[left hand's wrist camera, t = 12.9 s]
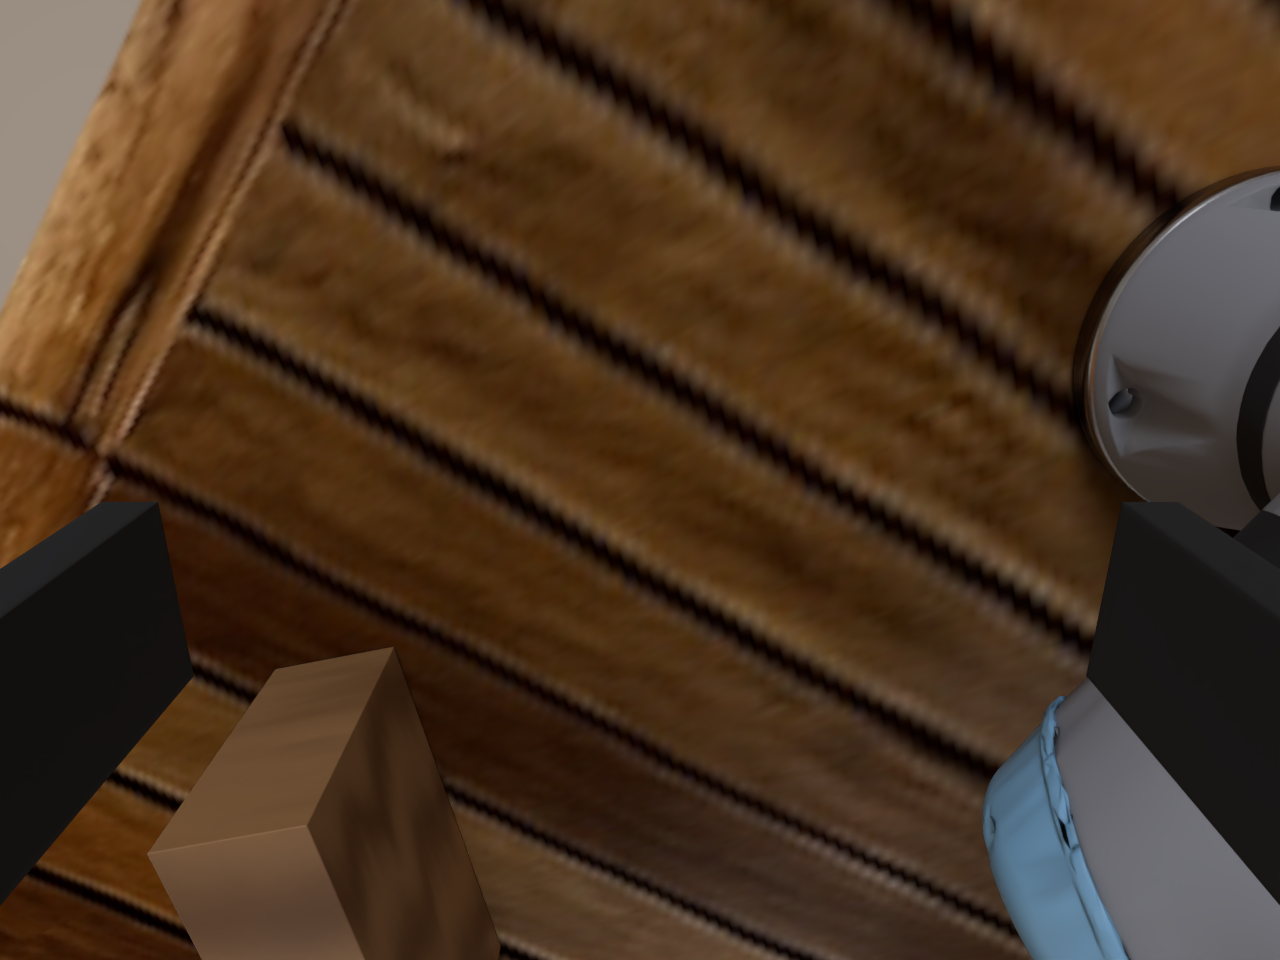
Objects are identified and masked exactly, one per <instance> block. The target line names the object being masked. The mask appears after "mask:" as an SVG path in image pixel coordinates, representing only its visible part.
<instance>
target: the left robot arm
mask: <svg viewBox="0 0 1280 960" xmlns="http://www.w3.org/2000/svg"><path fill="white" fill-rule="evenodd" d="M1074 396H1075V403H1076V409H1077V413H1078V417H1079V421H1080V424H1081V427H1082V430H1083V432H1084V435H1085V437H1086V439H1087V441H1088V443H1089V445H1090V447H1091V449H1092V451H1093V452H1094V454H1095V455H1096V456H1097V458H1098V459H1099V461H1100V462H1101V464H1102V465H1103V466H1104V467H1105V468H1106V469H1107V470H1108V471H1109V472H1110V474H1111V475H1113V476H1114V477H1115V478H1116V479H1117V480H1118V481H1119V482H1121V483H1122V484H1123V485H1124V486H1126V487H1127V488H1129V489H1130V490H1132V491H1133V492H1134V493H1136V494H1137V495H1139V496H1140V497H1142V498H1143V499H1145V500H1146V501H1147V502H1122V505H1121V509H1120V514H1119V519H1118V524H1117V529H1116V534H1115V539H1114V544H1113V548H1112V553H1111V558H1110V563H1109V568H1108V573H1107V578H1106V583H1105V587H1104V592H1103V597H1102V602H1101V607H1100V612H1099V617H1098V621H1097V626H1096V631H1095V636H1094V641H1093V646H1092V651H1091V656H1090V660H1089V665H1088V670H1087V675H1086V676H1087V677H1088V678H1087V679H1086V680H1085V681H1083V682H1082V683H1081V684H1080V685H1079V686H1078V687H1077V688H1076V689H1075V690H1074V691H1073V692H1072V693H1071V694H1070V695H1069V696H1065V697H1063V696H1059V697H1058V698H1057V699H1055V700H1054V701H1053V702H1052V703H1051V704H1050V705H1049V706H1048V707H1047V709H1046V711H1045V712H1044V715H1043V720H1042V723H1041V724H1040V725H1039V726H1038V727H1037V728H1036V729H1035V730H1034V731H1033V732H1032V734H1031V735H1030V736H1029V737H1028V738H1027V739H1026V740H1025V741H1024V742H1023V743H1022V745H1021V746H1020V747H1019V748H1018V749H1017V750H1016V751H1015V752H1014V753H1013V754H1012V755H1011V756H1010V757H1009V758H1008V760H1007V761H1006V762H1005V763H1004V764H1003V765H1002V766H1001V767H1000V768H999V769H998V770H997V772H996V773H995V775H994V776H993V778H992V779H991V781H990V783H989V785H988V788H987V791H986V794H985V798H984V803H983V810H982V823H983V836H984V841H985V844H986V847H987V850H988V854H989V861H990V868H991V871H992V874H993V877H994V879H995V882H996V885H997V888H998V890H999V893H1000V895H1001V898H1002V900H1003V903H1004V905H1005V907H1006V909H1007V912H1008V914H1009V916H1010V918H1011V920H1012V922H1013V924H1014V926H1015V928H1016V930H1017V932H1018V934H1019V936H1020V938H1021V940H1022V941H1023V943H1024V945H1025V947H1026V949H1027V951H1028V953H1029V954H1030V956H1031V958H1032V960H1280V166H1275V167H1266V168H1261V169H1257V170H1252V171H1247V172H1244V173H1241V174H1238V175H1234V176H1231V177H1228V178H1226V179H1223V180H1221V181H1218V182H1216V183H1214V184H1211V185H1209V186H1207V187H1205V188H1203V189H1201V190H1199V191H1197V192H1195V193H1193V194H1192V195H1190V196H1188V197H1187V198H1185V199H1184V200H1182V201H1180V202H1179V203H1177V204H1176V205H1174V206H1173V207H1171V208H1170V209H1169V210H1167V211H1166V212H1165V213H1163V214H1162V215H1161V216H1159V217H1158V218H1157V219H1156V220H1155V221H1153V222H1152V223H1151V224H1150V225H1149V226H1148V227H1147V228H1146V229H1144V230H1143V231H1142V232H1141V233H1140V234H1139V235H1138V236H1137V237H1136V239H1135V240H1134V241H1133V242H1132V243H1131V244H1130V245H1129V246H1128V247H1127V248H1126V250H1125V251H1124V252H1123V253H1122V254H1121V256H1120V257H1119V258H1118V259H1117V261H1116V262H1115V263H1114V265H1113V266H1112V268H1111V269H1110V271H1109V272H1108V274H1107V275H1106V276H1105V278H1104V280H1103V282H1102V283H1101V285H1100V287H1099V289H1098V290H1097V292H1096V294H1095V296H1094V298H1093V300H1092V303H1091V305H1090V307H1089V309H1088V311H1087V314H1086V317H1085V320H1084V323H1083V325H1082V328H1081V332H1080V336H1079V340H1078V344H1077V349H1076V356H1075V362H1074ZM1215 526H1216V527H1215ZM1217 527H1222V528H1229V529H1235V530H1241V531H1240V532H1239V533H1238V534H1237V535H1236V536H1235V537H1234V538H1232V537H1230V536H1229V535H1227V534H1226V533H1224V532H1223V531H1221V530H1220V529H1218V528H1217ZM193 676H194V675H193V670H192V665H191V660H190V656H189V651H188V646H187V641H186V636H185V631H184V626H183V621H182V617H181V612H180V607H179V602H178V597H177V592H176V587H175V583H174V578H173V573H172V568H171V563H170V558H169V553H168V548H167V544H166V539H165V534H164V529H163V524H162V519H161V514H160V509H159V505H158V502H101V503H99V504H98V505H96V506H95V507H93V508H92V509H90V510H89V511H87V512H86V513H84V514H83V515H81V516H80V517H78V518H77V519H75V520H74V521H72V522H71V523H69V524H68V525H66V526H65V527H63V528H62V529H60V530H59V531H57V532H56V533H54V534H53V535H51V536H50V537H48V538H47V539H45V540H44V541H42V542H40V543H39V544H37V545H36V546H34V547H33V548H31V549H30V550H28V551H27V552H25V553H24V554H22V555H21V556H19V557H18V558H16V559H15V560H13V561H12V562H10V563H9V564H7V565H6V566H4V567H3V568H1V569H0V905H1V904H2V903H3V902H4V900H5V899H6V898H7V897H8V896H9V895H10V893H11V892H12V891H13V890H14V889H15V887H16V886H17V885H18V884H19V883H20V881H21V880H22V879H23V878H24V877H25V876H26V874H27V873H28V872H29V871H30V870H31V868H32V867H33V866H34V865H35V864H36V862H37V861H38V860H39V859H40V858H41V857H42V855H43V854H44V853H45V852H46V851H47V849H48V848H49V847H50V846H51V845H52V843H53V842H54V841H55V840H56V839H57V838H58V836H59V835H60V834H61V833H62V832H63V830H64V829H65V828H66V827H67V826H68V824H69V823H70V822H71V821H72V820H73V819H74V817H75V816H76V815H77V814H78V813H79V811H80V810H81V809H82V808H83V807H84V806H85V804H86V803H87V802H88V801H89V800H90V798H91V797H92V796H93V795H94V794H95V792H96V791H97V790H98V789H99V788H100V787H101V785H102V784H103V783H104V782H105V781H106V779H107V778H108V777H109V776H110V775H111V773H112V772H113V771H114V770H115V769H116V768H117V766H118V765H119V764H120V763H121V762H122V760H123V759H124V758H125V757H126V756H127V754H128V753H129V752H130V751H131V750H132V749H133V747H134V746H135V745H136V744H137V743H138V741H139V740H140V739H141V738H142V737H143V736H144V734H145V733H146V732H147V731H148V730H149V728H150V727H151V726H152V725H153V724H154V722H155V721H156V720H157V719H158V718H159V717H160V715H161V714H162V713H163V712H164V711H165V709H166V708H167V707H168V706H169V705H170V703H171V702H172V701H173V700H174V699H175V698H176V696H177V695H178V694H179V693H180V692H181V690H182V689H183V688H184V687H185V686H186V684H187V683H188V682H189V681H190V680H191V679H192V677H193Z"/></svg>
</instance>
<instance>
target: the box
mask: <svg viewBox="0 0 1280 960" xmlns="http://www.w3.org/2000/svg"><path fill="white" fill-rule="evenodd" d="M148 856H149V858H150V860H151V862H152V864H153V866H154V868H155V870H156V872H157V874H158V876H159V877H160V879H161V881H162V883H163V885H164V887H165V889H166V891H167V893H168V895H169V897H170V899H171V901H172V903H173V904H174V906H175V908H176V910H177V912H178V914H179V916H180V918H181V920H182V922H183V924H184V926H185V928H186V930H187V932H188V933H189V935H190V937H191V939H192V941H193V943H194V945H195V947H196V949H197V951H198V953H199V955H200V957H201V959H202V960H498V958H499V952H500V943H499V940H498V937H497V935H496V932H495V929H494V926H493V923H492V921H491V918H490V915H489V912H488V909H487V907H486V904H485V901H484V898H483V895H482V893H481V890H480V887H479V884H478V881H477V879H476V876H475V873H474V870H473V867H472V865H471V862H470V859H469V856H468V853H467V851H466V848H465V845H464V842H463V839H462V837H461V834H460V831H459V828H458V825H457V823H456V820H455V817H454V814H453V811H452V809H451V806H450V803H449V800H448V797H447V795H446V792H445V789H444V786H443V783H442V781H441V778H440V775H439V772H438V769H437V767H436V764H435V761H434V758H433V755H432V753H431V750H430V747H429V744H428V741H427V739H426V736H425V733H424V730H423V727H422V725H421V722H420V719H419V716H418V713H417V711H416V708H415V705H414V702H413V699H412V696H411V694H410V691H409V688H408V685H407V682H406V680H405V677H404V674H403V671H402V668H401V666H400V663H399V660H398V657H397V654H396V652H395V649H394V647H390V648H385V649H379V650H374V651H369V652H364V653H358V654H353V655H348V656H343V657H337V658H332V659H327V660H322V661H316V662H311V663H306V664H301V665H295V666H290V667H285V668H280V669H276V670H275V671H274V672H273V673H272V675H271V676H270V678H269V679H268V681H267V682H266V683H265V685H264V686H263V688H262V689H261V691H260V692H259V694H258V695H257V696H256V698H255V699H254V701H253V702H252V704H251V705H250V707H249V708H248V709H247V711H246V712H245V714H244V715H243V717H242V718H241V719H240V721H239V722H238V724H237V725H236V727H235V728H234V730H233V731H232V732H231V734H230V735H229V737H228V738H227V740H226V741H225V743H224V744H223V745H222V747H221V748H220V750H219V751H218V753H217V754H216V755H215V757H214V758H213V760H212V761H211V763H210V764H209V766H208V767H207V768H206V770H205V771H204V773H203V774H202V776H201V777H200V779H199V780H198V781H197V783H196V784H195V786H194V787H193V789H192V790H191V791H190V793H189V794H188V796H187V797H186V799H185V800H184V802H183V803H182V804H181V806H180V807H179V809H178V810H177V812H176V813H175V815H174V816H173V817H172V819H171V820H170V822H169V823H168V825H167V826H166V827H165V829H164V830H163V832H162V833H161V835H160V836H159V838H158V839H157V840H156V842H155V843H154V845H153V846H152V848H151V849H150V851H149V852H148Z"/></svg>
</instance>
